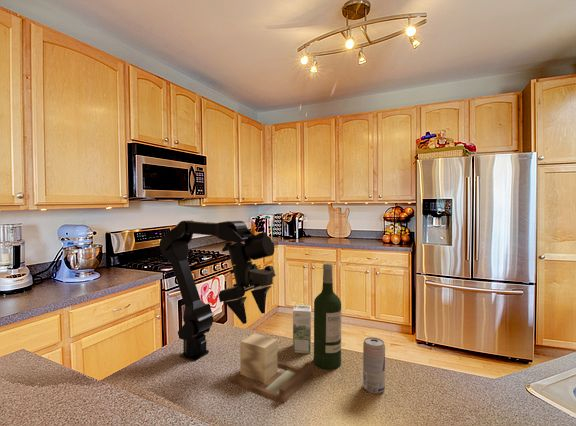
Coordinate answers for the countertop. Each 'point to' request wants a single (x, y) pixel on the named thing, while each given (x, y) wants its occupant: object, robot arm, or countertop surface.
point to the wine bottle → (327, 324)
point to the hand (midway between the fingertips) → (254, 318)
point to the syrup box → (302, 329)
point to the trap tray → (278, 382)
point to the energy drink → (374, 365)
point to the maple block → (258, 357)
